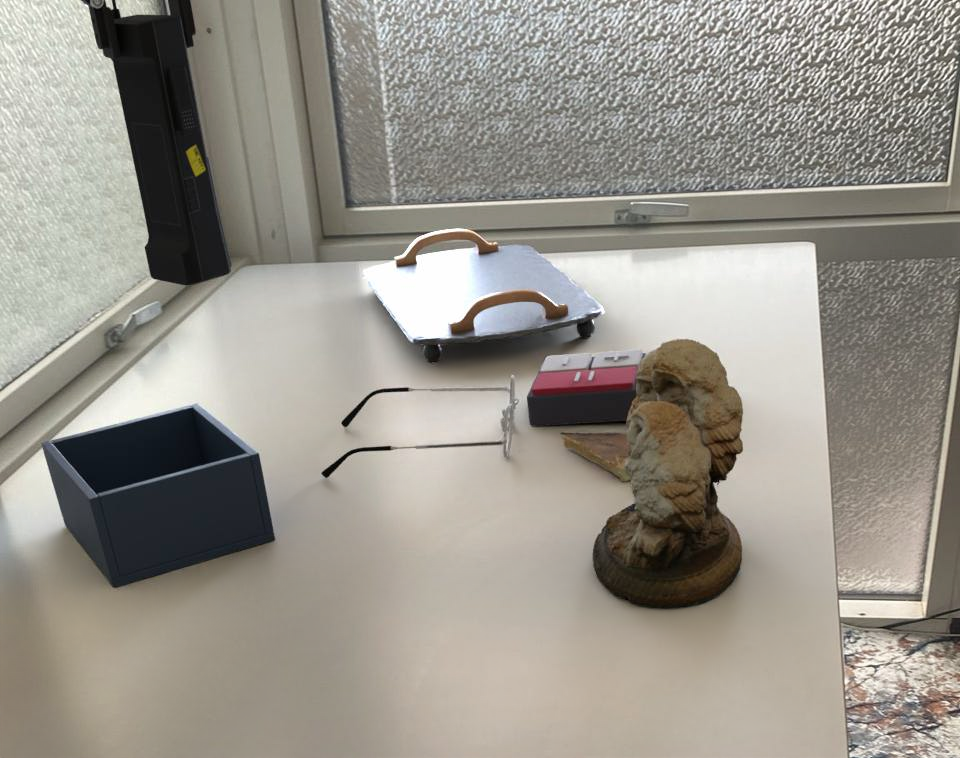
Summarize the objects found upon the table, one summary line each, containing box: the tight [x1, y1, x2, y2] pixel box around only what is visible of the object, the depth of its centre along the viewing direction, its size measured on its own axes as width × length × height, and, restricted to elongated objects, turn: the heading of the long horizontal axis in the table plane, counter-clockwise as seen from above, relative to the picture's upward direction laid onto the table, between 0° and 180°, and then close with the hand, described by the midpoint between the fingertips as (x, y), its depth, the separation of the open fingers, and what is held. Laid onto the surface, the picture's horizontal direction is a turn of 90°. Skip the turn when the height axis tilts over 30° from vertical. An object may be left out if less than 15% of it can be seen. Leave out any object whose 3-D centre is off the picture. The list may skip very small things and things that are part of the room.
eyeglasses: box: [320, 374, 520, 479], centre depth 128 cm, size 16×19×5 cm
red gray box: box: [526, 348, 654, 427], centre depth 133 cm, size 11×4×15 cm
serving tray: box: [362, 228, 606, 364], centre depth 161 cm, size 39×23×6 cm, turn 14°
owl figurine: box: [592, 338, 744, 609], centre depth 102 cm, size 18×12×17 cm, turn 176°
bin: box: [40, 403, 276, 588], centre depth 116 cm, size 15×16×8 cm
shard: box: [559, 431, 631, 483], centre depth 124 cm, size 11×8×2 cm
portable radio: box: [101, 0, 232, 287], centre depth 129 cm, size 8×6×25 cm
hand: (149, 50), depth 124 cm, fingers closed on portable radio, 6 cm apart
